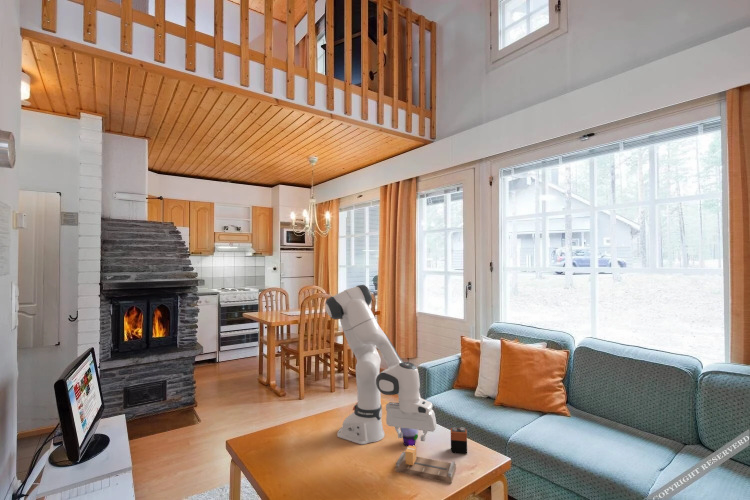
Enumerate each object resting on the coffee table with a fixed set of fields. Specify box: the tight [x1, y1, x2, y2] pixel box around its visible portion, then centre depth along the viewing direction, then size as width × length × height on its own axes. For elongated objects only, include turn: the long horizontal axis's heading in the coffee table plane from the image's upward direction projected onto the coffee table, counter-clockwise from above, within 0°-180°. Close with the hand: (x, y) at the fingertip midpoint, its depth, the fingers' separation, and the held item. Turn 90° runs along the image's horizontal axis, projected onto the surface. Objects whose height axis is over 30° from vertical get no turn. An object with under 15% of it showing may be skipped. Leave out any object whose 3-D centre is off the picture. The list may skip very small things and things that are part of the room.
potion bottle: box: [399, 428, 419, 447], centre depth 168 cm, size 9×9×12 cm
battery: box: [450, 426, 468, 455], centre depth 161 cm, size 4×7×10 cm, turn 79°
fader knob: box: [404, 445, 417, 465], centre depth 149 cm, size 3×5×5 cm, turn 158°
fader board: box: [394, 451, 457, 484], centre depth 146 cm, size 22×10×3 cm, turn 68°
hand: (411, 438), depth 149 cm, fingers open, 8 cm apart
